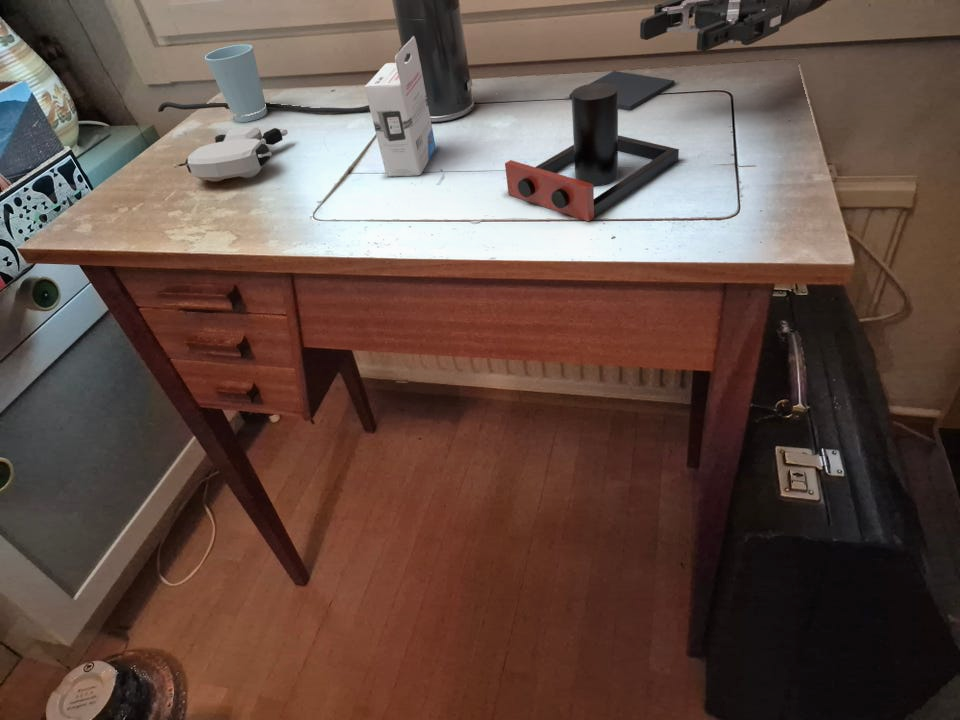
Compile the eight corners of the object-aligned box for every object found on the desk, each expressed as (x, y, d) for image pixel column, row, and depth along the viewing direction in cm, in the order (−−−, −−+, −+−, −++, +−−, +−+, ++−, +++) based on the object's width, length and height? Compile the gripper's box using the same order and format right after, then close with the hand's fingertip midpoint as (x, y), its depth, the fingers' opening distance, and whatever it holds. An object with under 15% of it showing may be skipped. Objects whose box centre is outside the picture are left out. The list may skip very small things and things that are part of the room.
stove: (503, 197, 77) (499, 165, 75) (597, 141, 86) (597, 111, 83) (583, 225, 70) (582, 191, 68) (678, 161, 78) (680, 128, 76)
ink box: (403, 149, 92) (379, 37, 83) (437, 148, 91) (416, 34, 82) (385, 177, 86) (356, 59, 77) (420, 176, 85) (395, 56, 75)
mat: (569, 98, 99) (569, 94, 98) (614, 74, 104) (614, 70, 104) (630, 110, 92) (630, 106, 92) (674, 84, 97) (674, 80, 97)
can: (566, 179, 79) (562, 95, 72) (592, 163, 81) (590, 80, 75) (600, 189, 76) (598, 102, 69) (626, 172, 78) (627, 86, 72)
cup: (269, 120, 109) (246, 54, 102) (224, 127, 110) (198, 62, 103) (277, 105, 115) (256, 41, 108) (234, 111, 115) (211, 48, 109)
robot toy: (221, 156, 102) (182, 194, 90) (211, 126, 99) (168, 162, 87) (297, 147, 101) (267, 185, 89) (288, 117, 98) (256, 151, 86)
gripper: (720, -41, 82) (624, -8, 76) (825, -33, 73) (724, 6, 67) (715, 24, 87) (624, 60, 81) (812, 39, 77) (717, 82, 72)
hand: (669, 35), depth 74 cm, fingers open, 8 cm apart
